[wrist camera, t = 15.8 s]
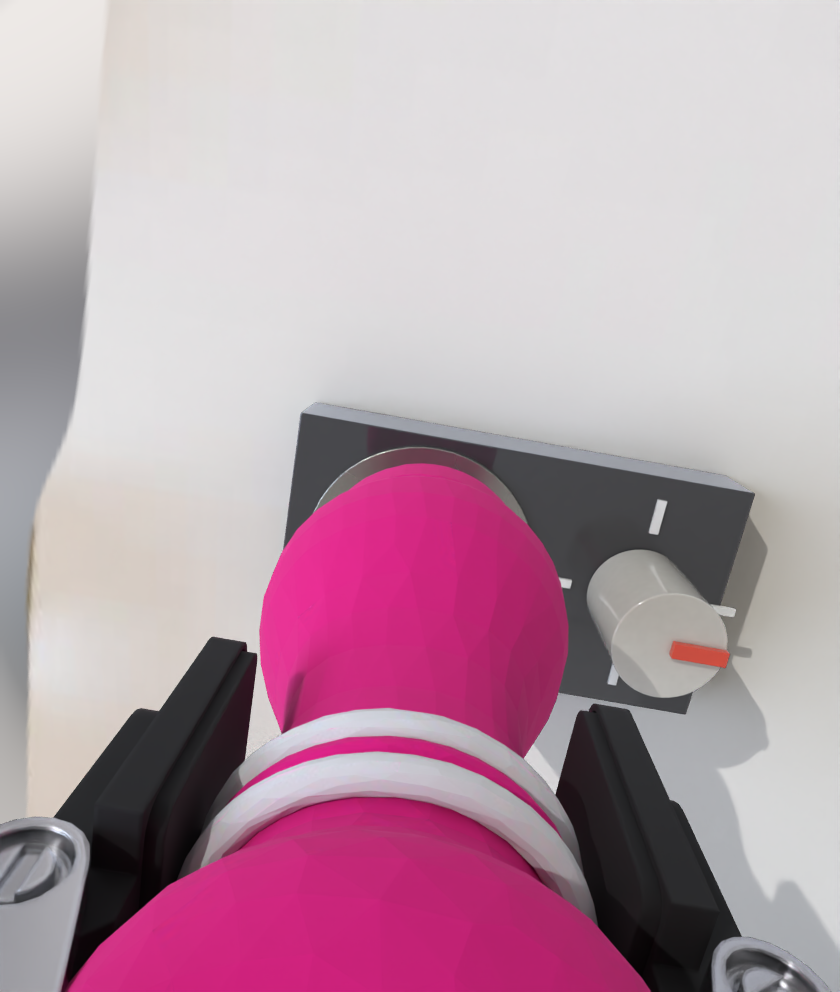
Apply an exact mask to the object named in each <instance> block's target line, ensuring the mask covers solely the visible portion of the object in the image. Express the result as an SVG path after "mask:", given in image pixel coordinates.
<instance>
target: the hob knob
mask: <svg viewBox="0 0 840 992" xmlns="http://www.w3.org/2000/svg"><path fill="white" fill-rule="evenodd" d="M587 606H588V610H589V613H590V615H591V618H592V620H593V622H594V624H595V626H596V628H597V631H598V633H599V635H600V637H601V639H602V641H603V644H604V646H605V648H606V650H607V652H608V654H609V657H610V659H611V661H612V663H613V665H614V667H615V670H616V671H617V673H618V675H619V676H620V677H621V678H622V680H623V681H624V682H625V683H626V684H627V685H629V686H630V687H631V688H633V689H634V690H636V691H638V692H640V693H643V694H645V695H648V696H653V697H660V698H671V697H678V696H683V695H686V694H689V693H691V692H693V691H695V690H697V689H699V688H701V687H702V686H704V685H705V684H706V683H708V682H709V681H710V680H711V679H712V678H713V677H714V676H715V675H716V673H717V672H718V671H719V669H720V667H722V668H726V665H727V662H728V659H729V656H730V653H729V652H728V651H727V645H728V638H727V631H726V628H725V625H724V622H723V621H722V619H721V617H720V615H719V614H718V613H717V612H716V610H715V609H714V608H713V607H712V606H711V605H710V603H709V602H708V601H707V600H706V599H705V598H704V597H703V595H702V594H701V593H700V592H699V591H698V590H697V589H696V587H695V586H694V585H693V584H692V583H691V582H690V581H689V579H688V578H687V577H686V576H685V575H684V574H683V573H682V571H681V570H680V569H679V568H678V567H677V566H676V565H675V564H674V563H673V562H672V561H671V560H670V559H668V558H667V557H665V556H664V555H662V554H659V553H657V552H654V551H650V550H630V551H626V552H622V553H619V554H617V555H615V556H613V557H611V558H610V559H608V560H607V561H605V562H604V563H603V564H602V565H601V566H600V567H599V568H598V569H597V570H596V572H595V573H594V575H593V576H592V578H591V580H590V583H589V586H588V590H587Z"/></svg>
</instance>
